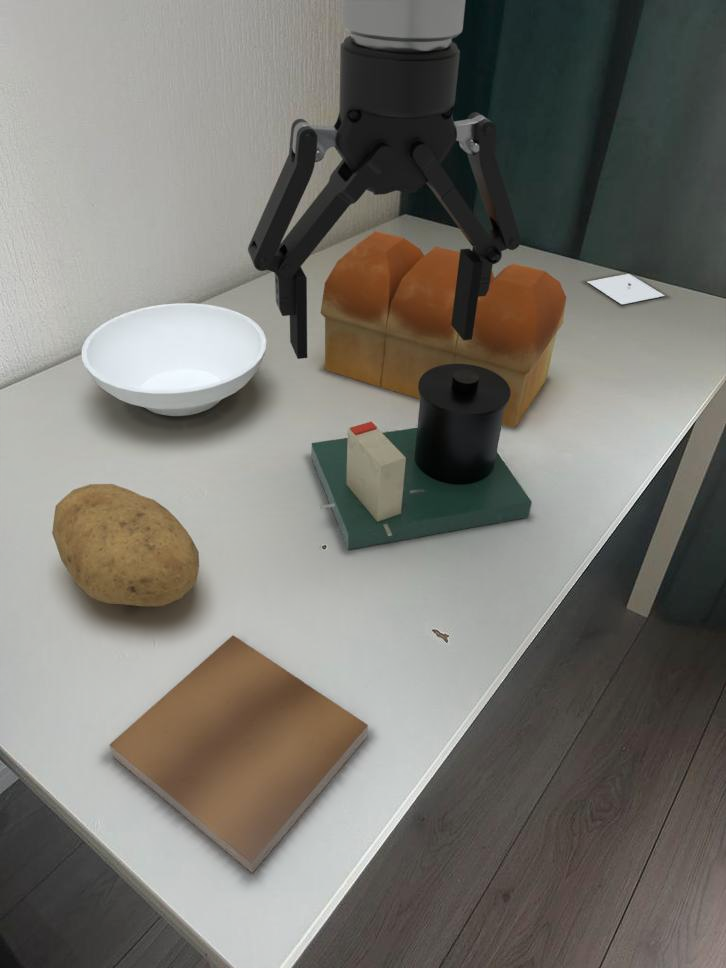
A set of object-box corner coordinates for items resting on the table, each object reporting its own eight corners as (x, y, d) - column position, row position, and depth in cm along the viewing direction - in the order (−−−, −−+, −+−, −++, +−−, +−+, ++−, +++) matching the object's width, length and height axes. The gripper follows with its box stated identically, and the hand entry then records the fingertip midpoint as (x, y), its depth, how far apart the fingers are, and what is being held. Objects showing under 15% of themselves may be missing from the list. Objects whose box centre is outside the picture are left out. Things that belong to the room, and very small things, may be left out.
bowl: (184, 337, 98) (178, 287, 94) (303, 390, 90) (303, 337, 85) (55, 404, 86) (41, 350, 81) (180, 472, 77) (172, 416, 73)
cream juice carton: (401, 513, 71) (406, 455, 66) (377, 522, 70) (381, 463, 65) (368, 477, 75) (371, 419, 70) (346, 484, 74) (347, 426, 69)
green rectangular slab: (533, 524, 73) (537, 507, 72) (334, 561, 68) (334, 544, 67) (471, 434, 84) (474, 417, 83) (296, 460, 80) (295, 443, 78)
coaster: (586, 281, 115) (587, 276, 115) (628, 273, 118) (630, 268, 118) (621, 304, 110) (623, 299, 109) (665, 295, 113) (666, 290, 112)
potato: (144, 663, 59) (128, 593, 54) (37, 577, 66) (13, 506, 61) (236, 592, 65) (229, 522, 60) (130, 519, 72) (115, 450, 67)
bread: (320, 369, 93) (320, 252, 84) (367, 327, 102) (372, 216, 93) (517, 431, 85) (542, 308, 76) (550, 379, 94) (576, 263, 84)
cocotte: (512, 477, 76) (530, 393, 69) (432, 494, 73) (442, 408, 67) (473, 428, 82) (486, 347, 76) (398, 442, 79) (405, 359, 73)
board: (367, 736, 55) (368, 724, 54) (252, 873, 48) (251, 862, 47) (234, 647, 61) (232, 634, 60) (112, 756, 53) (108, 744, 52)
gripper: (553, 25, 54) (505, 305, 67) (191, 27, 48) (218, 334, 61) (608, 47, 48) (544, 347, 62) (206, 53, 42) (233, 383, 56)
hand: (382, 341), depth 62 cm, fingers open, 13 cm apart
